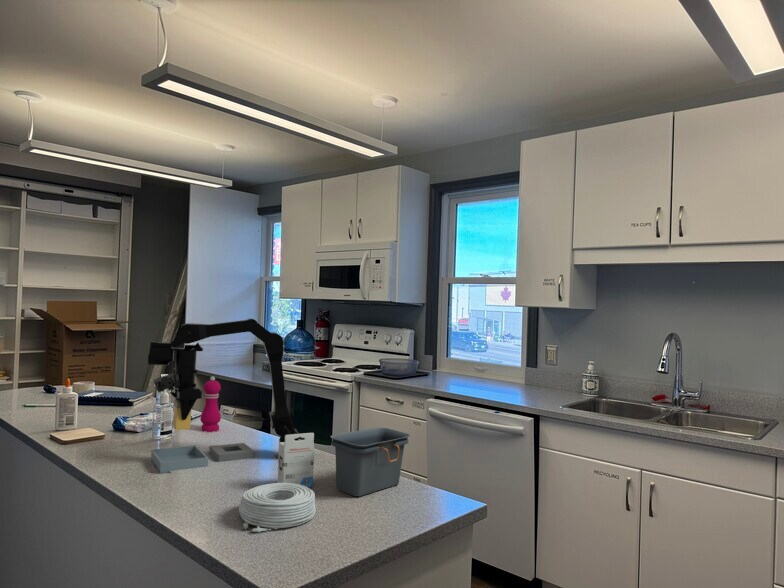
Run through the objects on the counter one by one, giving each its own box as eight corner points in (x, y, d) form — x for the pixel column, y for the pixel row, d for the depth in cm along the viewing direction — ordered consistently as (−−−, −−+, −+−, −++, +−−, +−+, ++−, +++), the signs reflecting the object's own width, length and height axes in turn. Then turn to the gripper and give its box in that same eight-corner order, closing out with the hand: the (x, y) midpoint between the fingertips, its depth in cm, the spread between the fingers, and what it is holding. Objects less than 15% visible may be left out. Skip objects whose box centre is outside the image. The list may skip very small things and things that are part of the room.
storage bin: (378, 473, 165) (380, 425, 165) (418, 487, 154) (420, 435, 155) (322, 489, 149) (325, 435, 149) (363, 506, 139) (366, 448, 139)
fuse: (190, 429, 166) (192, 402, 166) (175, 430, 164) (177, 402, 164) (187, 426, 169) (188, 399, 170) (172, 427, 167) (174, 400, 167)
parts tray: (207, 467, 163) (208, 457, 163) (160, 473, 156) (160, 462, 156) (195, 454, 176) (195, 445, 176) (150, 459, 169) (151, 449, 169)
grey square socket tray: (254, 459, 174) (254, 451, 174) (218, 463, 168) (219, 455, 168) (243, 450, 183) (243, 442, 183) (209, 454, 177) (209, 446, 177)
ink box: (307, 482, 155) (309, 428, 155) (313, 487, 150) (315, 432, 151) (276, 485, 151) (279, 430, 151) (281, 491, 146) (284, 434, 147)
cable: (244, 537, 119) (246, 508, 119) (233, 507, 135) (234, 482, 135) (324, 527, 126) (325, 500, 126) (304, 500, 142) (305, 476, 142)
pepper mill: (224, 430, 209) (226, 376, 210) (208, 433, 203) (211, 378, 204) (211, 426, 213) (213, 374, 214) (195, 430, 207) (198, 376, 207)
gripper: (151, 362, 170) (147, 413, 170) (162, 370, 155) (159, 426, 154) (189, 361, 176) (185, 411, 176) (203, 369, 161) (200, 424, 160)
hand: (182, 418), depth 167 cm, fingers closed on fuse, 4 cm apart
